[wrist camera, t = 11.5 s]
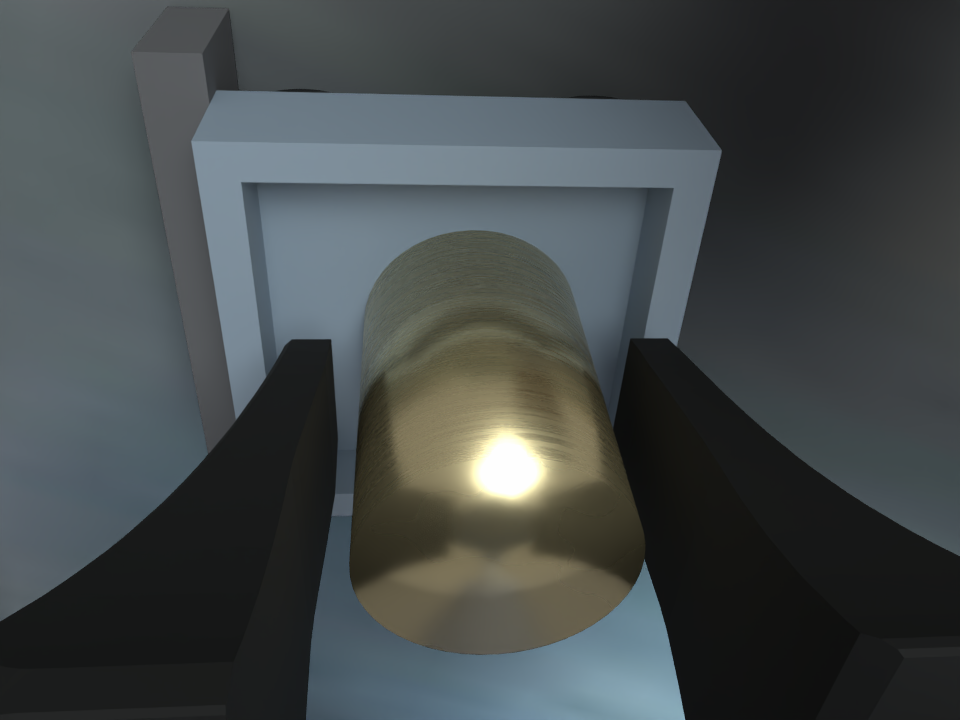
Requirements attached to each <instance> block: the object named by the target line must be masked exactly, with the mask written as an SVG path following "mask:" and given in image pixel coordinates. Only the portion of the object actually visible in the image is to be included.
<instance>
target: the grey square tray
mask: <svg viewBox="0 0 960 720" xmlns="http://www.w3.org/2000/svg"><path fill="white" fill-rule="evenodd" d="M191 143H192V149H193V155H194V162H195V168H196V174H197V180H198V186H199V193H200V199H201V205H202V211H203V218H204V224H205V230H206V236H207V242H208V249H209V255H210V261H211V267H212V274H213V280H214V286H215V292H216V299H217V305H218V311H219V317H220V323H221V330H222V336H223V342H224V348H225V355H226V361H227V367H228V373H229V379H230V386H231V392H232V398H233V404H234V411H235V417H236V419H237V418H238V417H239V415H240V414H241V413H242V411H243V410H244V408H245V407H246V406H247V404H248V403H249V402H250V400H251V399H252V397H253V396H254V395H255V393H256V392H257V390H258V389H259V387H260V386H261V384H262V383H263V381H264V380H265V378H266V377H267V375H268V373H269V372H270V370H271V369H272V367H273V365H274V364H275V362H276V360H277V359H278V357H279V355H280V353H281V352H282V350H283V348H284V346H285V345H286V344H287V343H288V342H289V341H290V340H291V339H331V341H332V356H333V371H334V386H335V401H336V416H337V430H338V449H337V470H336V488H335V498H334V504H333V510H332V516H352V512H353V495H354V479H355V462H356V446H357V430H358V413H359V397H360V380H361V364H362V347H363V331H364V316H365V309H366V304H367V301H368V297H369V294H370V292H371V290H372V288H373V286H374V284H375V282H376V280H377V279H378V278H379V276H380V275H381V273H382V272H383V271H384V270H385V268H386V267H387V266H388V265H389V264H390V263H391V262H392V261H393V260H394V259H396V258H397V257H398V256H399V255H400V254H402V253H403V252H405V251H406V250H408V249H409V248H411V247H412V246H414V245H416V244H418V243H420V242H422V241H424V240H427V239H429V238H432V237H435V236H438V235H442V234H446V233H451V232H456V231H467V230H483V231H492V232H499V233H503V234H506V235H510V236H514V237H516V238H519V239H521V240H524V241H526V242H528V243H530V244H531V245H533V246H535V247H537V248H538V249H540V250H541V251H542V252H544V253H545V254H546V255H547V256H549V257H550V258H551V259H552V260H553V261H554V262H555V263H556V264H557V266H558V267H559V268H560V270H561V271H562V272H563V274H564V275H565V277H566V279H567V281H568V283H569V285H570V287H571V290H572V293H573V297H574V300H575V303H576V307H577V310H578V313H579V317H580V320H581V323H582V327H583V330H584V333H585V337H586V340H587V343H588V347H589V350H590V354H591V357H592V360H593V364H594V367H595V370H596V374H597V377H598V380H599V384H600V387H601V390H602V394H603V397H604V401H605V404H606V407H607V411H608V414H609V417H610V421H611V424H612V427H613V426H614V421H615V416H616V410H617V405H618V400H619V395H620V389H621V384H622V379H623V374H624V368H625V363H626V358H627V353H628V347H629V342H630V338H668V339H669V340H670V341H671V342H672V343H673V344H674V345H675V346H676V347H677V343H678V338H679V334H680V330H681V326H682V321H683V317H684V313H685V308H686V304H687V300H688V295H689V291H690V287H691V282H692V278H693V274H694V269H695V265H696V261H697V256H698V252H699V248H700V243H701V239H702V235H703V231H704V226H705V222H706V218H707V213H708V209H709V205H710V200H711V196H712V192H713V187H714V183H715V179H716V174H717V170H718V166H719V161H720V157H721V153H722V150H721V148H720V147H719V146H718V144H717V143H716V142H715V140H714V139H713V138H712V136H711V135H710V134H709V132H708V131H707V129H706V128H705V127H704V125H703V124H702V123H701V121H700V120H699V119H698V117H697V116H696V115H695V113H694V112H693V111H692V109H691V108H690V107H689V105H688V104H687V103H686V101H663V100H622V99H618V98H612V97H604V96H577V97H571V98H530V97H486V96H442V95H398V94H354V93H330V92H326V91H320V90H311V89H290V90H280V91H274V92H266V91H222V90H216V92H215V94H214V96H213V98H212V100H211V102H210V104H209V106H208V108H207V110H206V112H205V114H204V116H203V118H202V120H201V122H200V124H199V126H198V128H197V131H196V133H195V135H194V137H193V139H192V141H191Z"/></svg>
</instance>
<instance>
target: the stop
mask: <svg viewBox="0 0 960 720" xmlns="http://www.w3.org/2000/svg"><path fill="white" fill-rule="evenodd" d="M131 54H132V60H133V65H134V70H135V75H136V80H137V86H138V91H139V96H140V101H141V106H142V112H143V117H144V122H145V127H146V132H147V138H148V143H149V148H150V153H151V158H152V164H153V169H154V174H155V179H156V184H157V190H158V195H159V200H160V205H161V210H162V216H163V221H164V226H165V231H166V236H167V242H168V247H169V252H170V257H171V262H172V268H173V273H174V278H175V283H176V288H177V294H178V299H179V304H180V309H181V314H182V320H183V325H184V330H185V335H186V340H187V346H188V351H189V356H190V361H191V366H192V372H193V377H194V382H195V387H196V392H197V398H198V403H199V408H200V413H201V418H202V424H203V429H204V434H205V439H206V444H207V450H208V454H209V453H210V452H211V450H212V449H213V448H214V447H215V446H216V444H217V443H218V442H219V441H220V440H221V438H222V437H223V436H224V435H225V434H226V432H227V431H228V430H229V429H230V427H231V426H232V425H233V424H234V422H235V421H236V417H235V411H234V404H233V398H232V392H231V386H230V379H229V373H228V367H227V361H226V355H225V348H224V342H223V336H222V330H221V323H220V317H219V311H218V305H217V299H216V292H215V286H214V280H213V274H212V267H211V261H210V255H209V249H208V242H207V236H206V230H205V224H204V218H203V211H202V205H201V199H200V193H199V186H198V180H197V174H196V168H195V162H194V155H193V149H192V143H191V141H192V139H193V137H194V135H195V133H196V131H197V128H198V126H199V124H200V122H201V120H202V118H203V116H204V114H205V112H206V110H207V108H208V106H209V104H210V102H211V100H212V98H213V96H214V94H215V92H216V90H222V91H239V89H238V81H237V72H236V64H235V56H234V47H233V39H232V31H231V23H230V14H229V9H225V8H193V7H167V8H166V9H165V10H164V11H163V13H162V14H161V15H160V16H159V18H158V19H157V20H156V21H155V23H154V24H153V25H152V26H151V28H150V29H149V30H148V31H147V33H146V34H145V35H144V36H143V37H142V39H141V40H140V41H139V42H138V44H137V45H136V46H135V47H134V49H133V50H132V51H131Z"/></svg>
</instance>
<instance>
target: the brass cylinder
mask: <svg viewBox="0 0 960 720" xmlns="http://www.w3.org/2000/svg"><path fill="white" fill-rule="evenodd" d="M644 558H645V538H644V531H643V528H642V525H641V521H640V518H639V515H638V511H637V508H636V505H635V501H634V498H633V494H632V491H631V488H630V484H629V481H628V478H627V474H626V471H625V468H624V464H623V461H622V458H621V454H620V451H619V448H618V444H617V441H616V437H615V434H614V431H613V427H612V424H611V421H610V417H609V414H608V411H607V407H606V404H605V401H604V397H603V394H602V390H601V387H600V384H599V380H598V377H597V374H596V370H595V367H594V364H593V360H592V357H591V354H590V350H589V347H588V343H587V340H586V337H585V333H584V330H583V327H582V323H581V320H580V317H579V313H578V310H577V307H576V303H575V300H574V297H573V293H572V290H571V287H570V285H569V283H568V281H567V279H566V277H565V275H564V274H563V272H562V271H561V270H560V268H559V267H558V266H557V264H556V263H555V262H554V261H553V260H552V259H551V258H550V257H549V256H547V255H546V254H545V253H544V252H542V251H541V250H540V249H538V248H537V247H535V246H533V245H531V244H530V243H528V242H526V241H524V240H521V239H519V238H516V237H514V236H510V235H506V234H503V233H499V232H492V231H483V230H467V231H456V232H451V233H446V234H442V235H438V236H435V237H432V238H429V239H427V240H424V241H422V242H420V243H418V244H416V245H414V246H412V247H411V248H409V249H408V250H406V251H405V252H403V253H402V254H400V255H399V256H398V257H397V258H396V259H394V260H393V261H392V262H391V263H390V264H389V265H388V266H387V267H386V268H385V270H384V271H383V272H382V273H381V275H380V276H379V278H378V279H377V280H376V282H375V284H374V286H373V288H372V290H371V292H370V294H369V297H368V301H367V304H366V309H365V316H364V331H363V347H362V364H361V380H360V397H359V413H358V430H357V446H356V462H355V479H354V495H353V512H352V528H351V545H350V561H349V566H350V578H351V582H352V586H353V589H354V591H355V594H356V596H357V598H358V600H359V601H360V603H361V604H362V606H363V607H364V608H365V610H366V611H367V612H368V613H369V614H370V615H371V616H372V617H373V618H374V619H375V620H376V621H377V622H378V623H380V624H381V625H382V626H384V627H385V628H386V629H388V630H389V631H391V632H393V633H394V634H396V635H398V636H400V637H402V638H404V639H406V640H409V641H411V642H413V643H416V644H419V645H422V646H425V647H428V648H432V649H437V650H441V651H445V652H453V653H460V654H476V655H487V654H504V653H514V652H519V651H525V650H530V649H535V648H538V647H542V646H546V645H549V644H552V643H555V642H558V641H561V640H563V639H566V638H568V637H570V636H573V635H575V634H577V633H579V632H581V631H583V630H585V629H586V628H588V627H590V626H592V625H593V624H595V623H596V622H598V621H599V620H601V619H602V618H603V617H605V616H606V615H607V614H609V613H610V612H611V611H612V610H613V609H614V608H615V607H617V606H618V605H619V604H620V602H621V601H622V600H623V599H624V598H625V597H626V596H627V595H628V593H629V592H630V590H631V589H632V587H633V586H634V584H635V583H636V581H637V578H638V576H639V574H640V572H641V569H642V566H643V562H644Z"/></svg>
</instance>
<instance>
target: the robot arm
mask: <svg viewBox="0 0 960 720" xmlns="http://www.w3.org/2000/svg"><path fill="white" fill-rule="evenodd" d="M613 431H614V434H615V437H616V441H617V444H618V448H619V451H620V454H621V458H622V461H623V464H624V468H625V471H626V474H627V478H628V481H629V484H630V488H631V491H632V494H633V498H634V501H635V505H636V508H637V511H638V515H639V518H640V521H641V525H642V528H643V531H644V538H645V558H644V559H645V562H646V565H647V568H648V571H649V574H650V577H651V580H652V583H653V586H654V589H655V592H656V595H657V598H658V601H659V604H660V607H661V611H662V614H663V618H664V622H665V625H666V629H667V633H668V638H669V642H670V647H671V652H672V656H673V661H674V666H675V670H676V675H677V680H678V684H679V689H680V694H681V700H682V705H683V710H684V715H685V720H960V556H958V555H956V554H954V553H952V552H950V551H948V550H946V549H944V548H942V547H940V546H938V545H936V544H934V543H932V542H930V541H928V540H927V539H925V538H923V537H921V536H919V535H917V534H915V533H914V532H912V531H910V530H908V529H906V528H905V527H903V526H901V525H899V524H898V523H896V522H894V521H893V520H891V519H889V518H888V517H886V516H884V515H883V514H881V513H879V512H877V511H876V510H874V509H872V508H871V507H869V506H867V505H866V504H864V503H863V502H861V501H860V500H858V499H856V498H855V497H853V496H852V495H850V494H849V493H847V492H846V491H844V490H843V489H841V488H840V487H839V486H837V485H836V484H834V483H833V482H831V481H830V480H829V479H827V478H826V477H824V476H823V475H821V474H820V473H819V472H817V471H816V470H814V469H813V468H811V467H810V466H809V465H807V464H806V463H805V462H804V461H802V460H801V459H800V458H798V457H797V456H796V455H794V454H793V453H792V452H791V451H790V450H788V449H787V448H786V447H785V446H783V445H782V444H781V443H780V442H779V441H777V440H776V439H775V438H774V437H772V436H771V435H770V434H769V433H768V432H766V431H765V430H764V429H763V428H762V427H761V426H759V425H758V424H757V423H756V422H755V421H754V420H753V419H751V418H750V417H749V416H748V415H747V414H746V413H745V412H744V411H743V410H742V409H740V408H739V407H738V406H737V405H736V404H735V403H734V402H733V401H732V400H731V399H730V398H729V397H728V396H727V395H725V394H724V393H723V392H722V391H721V390H720V389H719V388H718V387H717V386H716V385H715V384H714V383H713V382H712V381H711V380H710V379H709V378H708V377H707V376H706V375H705V374H704V373H703V372H702V371H701V370H700V369H699V368H698V367H697V366H696V365H695V364H694V363H693V362H692V361H691V360H690V359H689V358H688V357H687V356H686V355H685V354H684V353H683V352H682V351H681V350H680V349H679V348H677V347H676V346H675V345H674V344H673V343H672V342H671V341H670V340H669V339H668V338H630V342H629V347H628V353H627V358H626V363H625V368H624V374H623V379H622V384H621V389H620V395H619V400H618V405H617V410H616V416H615V421H614V426H613ZM337 449H338V430H337V416H336V401H335V386H334V371H333V356H332V341H331V339H291V340H290V341H289V342H288V343H287V344H286V345H285V346H284V348H283V350H282V352H281V353H280V355H279V357H278V359H277V360H276V362H275V364H274V365H273V367H272V369H271V370H270V372H269V373H268V375H267V377H266V378H265V380H264V381H263V383H262V384H261V386H260V387H259V389H258V390H257V392H256V393H255V395H254V396H253V397H252V399H251V400H250V402H249V403H248V404H247V406H246V407H245V408H244V410H243V411H242V413H241V414H240V415H239V417H238V418H237V419H236V421H235V422H234V424H233V425H232V426H231V427H230V429H229V430H228V431H227V432H226V434H225V435H224V436H223V437H222V438H221V440H220V441H219V442H218V443H217V444H216V446H215V447H214V448H213V449H212V450H211V452H210V453H209V454H208V455H207V456H206V458H205V459H204V460H203V461H202V462H201V463H200V464H199V466H198V467H197V468H196V469H195V470H194V471H193V472H192V473H191V474H190V475H189V476H188V477H187V479H186V480H185V481H184V482H183V483H182V484H181V485H180V486H179V487H178V488H177V489H176V490H175V491H174V492H173V493H172V494H171V495H170V496H169V497H168V498H167V499H166V500H165V501H164V502H163V503H162V504H160V505H159V506H158V507H157V508H156V509H155V510H154V511H153V512H152V513H150V514H149V515H148V516H147V517H146V518H145V519H144V520H143V521H141V522H140V523H139V524H138V525H137V526H136V527H135V528H134V529H133V530H131V531H130V532H129V533H128V534H127V535H125V536H124V537H123V538H122V539H121V540H119V541H118V542H117V543H116V544H115V545H113V546H112V547H111V548H110V549H108V550H107V551H106V552H104V553H103V554H102V555H100V556H99V557H98V558H96V559H95V560H94V561H92V562H91V563H89V564H88V565H87V566H85V567H84V568H83V569H81V570H80V571H79V572H77V573H76V574H74V575H73V576H71V577H70V578H69V579H67V580H66V581H64V582H63V583H61V584H60V585H59V586H57V587H55V588H54V589H52V590H51V591H49V592H48V593H46V594H45V595H43V596H42V597H40V598H39V599H37V600H35V601H34V602H32V603H30V604H29V605H27V606H25V607H24V608H22V609H20V610H19V611H17V612H15V613H14V614H12V615H10V616H9V617H7V618H5V619H4V620H2V621H1V622H0V720H306V707H307V692H308V677H309V663H310V649H311V638H312V630H313V622H314V614H315V609H316V603H317V597H318V591H319V586H320V580H321V574H322V568H323V562H324V557H325V551H326V545H327V539H328V534H329V528H330V522H331V516H332V510H333V504H334V498H335V488H336V470H337Z"/></svg>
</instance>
